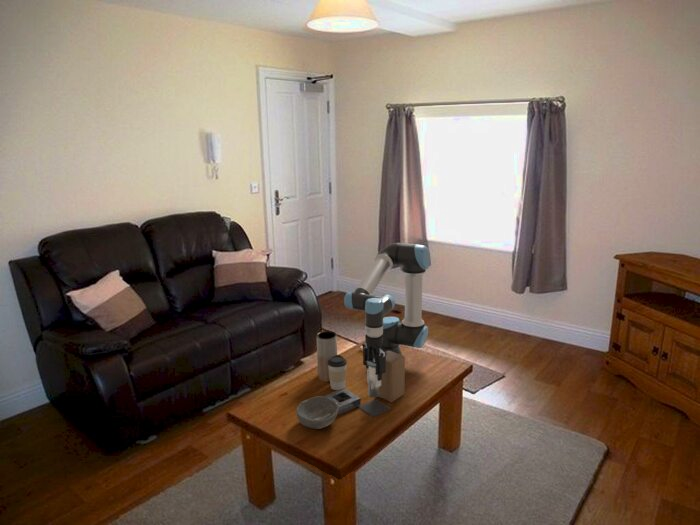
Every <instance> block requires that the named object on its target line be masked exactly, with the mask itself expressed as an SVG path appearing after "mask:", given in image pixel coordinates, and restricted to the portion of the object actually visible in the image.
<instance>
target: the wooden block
mask: <svg viewBox="0 0 700 525" xmlns="http://www.w3.org/2000/svg"><path fill="white" fill-rule="evenodd" d="M386 353H387V354H386V372H385V373H383V374H382V380H381V386H380V395H379V397H378V398H382V399H384V400H385V401H388V402H390V403H393V402H395V401H397V400H398V399H400V398H401V397H403V396H404V394H405V377H406V376H405V371H406V370H405V366H406V365H405V364H406V363H405V362H406V358H405V356H404V355H403V354H402V355H400V354H398V353H395V352H392V351H386Z"/></svg>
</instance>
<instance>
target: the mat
mask: <svg viewBox="0 0 700 525" xmlns="http://www.w3.org/2000/svg"><path fill="white" fill-rule="evenodd" d="M358 409H360V410H361V411H363V412H364V413H366V414H367V415H369V416H371V417H372V418H375V417H377V416H379V415H381V414H383V413H385V412H387V411H390V410H391V408H390V407H389V406H387V405H386V404H384V403H382V402H381V401H379V400H378V399H372V400H371V401H368V402H366V403H363V404H361V405H360V406H358Z"/></svg>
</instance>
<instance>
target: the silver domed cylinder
mask: <svg viewBox="0 0 700 525" xmlns="http://www.w3.org/2000/svg"><path fill="white" fill-rule="evenodd" d="M366 362H367V365H368V366H369V383H368V397H370V398H380V397H379V395H380V386H379V387H377V388H376V387H375V373H377V371H376V364H375V359H374V358H373V359H371V360H367V361H366Z"/></svg>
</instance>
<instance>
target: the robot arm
mask: <svg viewBox="0 0 700 525" xmlns="http://www.w3.org/2000/svg"><path fill="white" fill-rule="evenodd" d="M430 264H431V253H430V250H429V248H428V247H427V245H422V244H418V243H417V244H416V243H405V242H393V243H391V244H388V245H386V246H385V247H383V248H382V249H381V250H379V252H378V253H377V254H376V256H375V257H374V262H373V264H372V265H371V267H370V268H369V269H368V271H367V272H366V274H365V275H364V277H363V278H362V280H361V281H360V282H359V284H358V285H357V287H356V289H355V290H354V291H347V292H346V294H345V295H344V298H343V304H344V306H345V308H347V309H350V310H354V311H362V312H364V314H365V316H364V318H365V322H364V323H365V326H364V327H365V328H364V330H365V335H364V336H365V337H364V340H365V343H362V346H361V347H362V364H363V366H365V369H366V382H367V383H368V384H369V366H368V365H367V360H371V359H373V358H374V359H375V364H376V371H377V373H375V387H376V388H377V387H379V386H381V380H382V374H383V373H385V372H386V354H387V353H386V351H392V352H395V353H398V354H400V355H403V353H402V352H401V348H400V345H401V346H405V347H410V348H413V349H414V348H415V349H416V348H417V349H421V348H423V347H424V346H425V344H426V341H427V338H428V335H429V327H428V326H427V325H425V320H424V319H423V317H422V316H423V315H422V314H423V313H422V312H423V307H422V306H423V275H424V274H425V273H426V271H427V270H429V267H430ZM395 266H397V267H401V268H402V269H401V271H402V273H403V275H404V318H403V319H402V320H400V318H399V317H397V316H386V315H388V314H389V313H390V312H392V311H393V309H394V308H395V306H396V300H395V298H394V297H393V296H392V295H391V294H386V293H385V294H383V295H381V296H380V295H373V294H374V292H375V291H376V289H377V287H378V286H379V285H380V283H381V281H382V280H383V278H384V276H385V275H386V274H387V272H388V271H389V270H391V269H392V268H393V267H395Z"/></svg>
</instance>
